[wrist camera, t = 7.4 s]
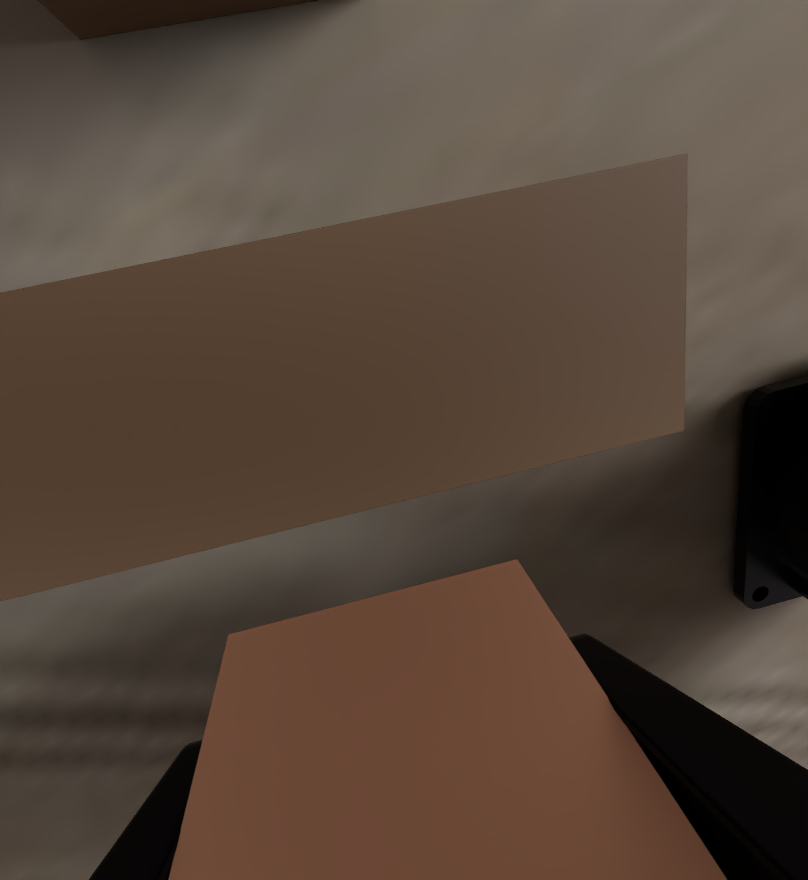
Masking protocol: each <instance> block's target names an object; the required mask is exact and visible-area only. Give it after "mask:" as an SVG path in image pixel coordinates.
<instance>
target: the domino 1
mask: <svg viewBox="0 0 808 880" xmlns="http://www.w3.org/2000/svg"><path fill="white" fill-rule="evenodd" d="M38 1H39V2H40V3H41V4H42V5H44V6H45V7H46V8H47V9H48V10H49V11H50V12H51V13H52V14H53V15H54V16H55V17H57V18H58V19H59V20H60V21H61V22H62V23H63V24H64V25H65V26H66V27H67V28H69V29H70V30H71V31H72V32H73V33H74V34H75V35H76V36H77V37H78V38H79V39H80V40H81V39H87V38H93V37H99V36H105V35H111V34H117V33H123V32H129V31H135V30H141V29H147V28H153V27H159V26H165V25H172V24H178V23H184V22H190V21H196V20H202V19H208V18H214V17H220V16H226V15H232V14H238V13H244V12H250V11H256V10H262V9H268V8H274V7H280V6H286V5H292V4H298V3H304V2H310V1H316V0H38Z"/></svg>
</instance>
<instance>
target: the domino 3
mask: <svg viewBox="0 0 808 880" xmlns="http://www.w3.org/2000/svg"><path fill="white" fill-rule="evenodd" d="M168 880H727V879H726V877H725V876H724V874H723V873H722V871H721V869H720V868H719V866H718V865H717V863H716V862H715V860H714V859H713V857H712V856H711V854H710V853H709V851H708V850H707V848H706V847H705V845H704V844H703V842H702V840H701V839H700V837H699V836H698V834H697V833H696V831H695V830H694V828H693V827H692V825H691V824H690V822H689V821H688V819H687V818H686V816H685V815H684V813H683V811H682V810H681V808H680V807H679V805H678V804H677V802H676V801H675V799H674V798H673V796H672V795H671V793H670V792H669V790H668V789H667V787H666V786H665V784H664V782H663V781H662V779H661V778H660V776H659V775H658V773H657V772H656V770H655V769H654V767H653V766H652V764H651V763H650V761H649V760H648V758H647V757H646V755H645V753H644V752H643V750H642V749H641V747H640V746H639V744H638V743H637V741H636V740H635V738H634V737H633V735H632V734H631V732H630V731H629V729H628V728H627V726H626V725H625V724H624V722H623V721H622V720H621V718H620V717H619V716H618V714H617V713H616V712H615V710H614V709H613V707H612V705H611V703H610V702H609V699H608V697H607V695H606V694H605V692H604V691H603V689H602V688H601V686H600V685H599V683H598V682H597V680H596V679H595V677H594V676H593V674H592V673H591V671H590V670H589V668H588V667H587V665H586V663H585V662H584V660H583V659H582V657H581V656H580V654H579V653H578V651H577V650H576V648H575V647H574V645H573V644H572V642H571V641H570V639H569V638H568V636H567V634H566V633H565V631H564V630H563V628H562V627H561V625H560V624H559V622H558V621H557V619H556V618H555V616H554V615H553V613H552V612H551V610H550V609H549V607H548V605H547V604H546V602H545V601H544V599H543V598H542V596H541V595H540V593H539V592H538V590H537V589H536V587H535V586H534V584H533V583H532V581H531V580H530V578H529V576H528V575H527V573H526V572H525V570H524V569H523V567H522V566H521V564H520V563H519V561H518V560H517V559H515V560H512V561H508V562H504V563H500V564H496V565H493V566H489V567H485V568H481V569H477V570H473V571H470V572H466V573H462V574H458V575H454V576H450V577H447V578H443V579H439V580H435V581H431V582H427V583H424V584H420V585H416V586H412V587H408V588H404V589H401V590H397V591H393V592H389V593H385V594H381V595H378V596H374V597H370V598H366V599H362V600H359V601H355V602H351V603H347V604H343V605H339V606H336V607H332V608H328V609H324V610H320V611H316V612H313V613H309V614H305V615H301V616H297V617H293V618H290V619H286V620H282V621H278V622H274V623H270V624H267V625H263V626H259V627H255V628H251V629H248V630H244V631H240V632H236V633H232V634H228V638H227V643H226V647H225V651H224V655H223V659H222V663H221V667H220V671H219V675H218V679H217V683H216V687H215V692H214V696H213V700H212V704H211V708H210V712H209V716H208V720H207V724H206V728H205V732H204V736H203V741H202V745H201V749H200V753H199V757H198V761H197V765H196V769H195V773H194V777H193V781H192V785H191V789H190V794H189V798H188V802H187V806H186V810H185V814H184V818H183V822H182V826H181V832H180V837H179V841H178V845H177V848H176V852H175V855H174V859H173V863H172V867H171V871H170V875H169V879H168Z"/></svg>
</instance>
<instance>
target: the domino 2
mask: <svg viewBox="0 0 808 880" xmlns="http://www.w3.org/2000/svg"><path fill="white" fill-rule="evenodd" d="M687 158H688V153H687V154H682V155H678V156H673V157H668V158H663V159H658V160H653V161H648V162H643V163H638V164H633V165H628V166H623V167H618V168H613V169H609V170H604V171H599V172H594V173H589V174H584V175H579V176H574V177H569V178H564V179H559V180H554V181H549V182H544V183H539V184H535V185H530V186H525V187H520V188H515V189H510V190H505V191H500V192H495V193H490V194H485V195H480V196H475V197H470V198H465V199H461V200H456V201H451V202H446V203H441V204H436V205H431V206H426V207H421V208H416V209H411V210H406V211H401V212H396V213H392V214H387V215H382V216H377V217H372V218H367V219H362V220H357V221H352V222H347V223H342V224H337V225H332V226H327V227H322V228H318V229H313V230H308V231H303V232H298V233H293V234H288V235H283V236H278V237H273V238H268V239H263V240H258V241H253V242H249V243H244V244H239V245H234V246H229V247H224V248H219V249H214V250H209V251H204V252H199V253H194V254H189V255H184V256H179V257H175V258H170V259H165V260H160V261H155V262H150V263H145V264H140V265H135V266H130V267H125V268H120V269H115V270H110V271H106V272H101V273H96V274H91V275H86V276H81V277H76V278H71V279H66V280H61V281H56V282H51V283H46V284H41V285H36V286H32V287H27V288H22V289H17V290H12V291H7V292H2V293H0V601H4V600H8V599H12V598H16V597H20V596H24V595H28V594H32V593H36V592H40V591H44V590H48V589H52V588H56V587H60V586H64V585H68V584H72V583H76V582H80V581H84V580H88V579H92V578H96V577H100V576H104V575H108V574H112V573H116V572H120V571H124V570H128V569H132V568H136V567H140V566H144V565H148V564H152V563H156V562H160V561H164V560H168V559H172V558H176V557H180V556H184V555H188V554H192V553H196V552H200V551H204V550H208V549H212V548H216V547H220V546H224V545H228V544H232V543H236V542H240V541H244V540H248V539H252V538H256V537H260V536H264V535H268V534H272V533H276V532H280V531H284V530H288V529H292V528H296V527H300V526H304V525H308V524H312V523H316V522H320V521H324V520H328V519H332V518H336V517H340V516H344V515H348V514H352V513H356V512H360V511H364V510H368V509H372V508H376V507H380V506H384V505H388V504H392V503H396V502H400V501H404V500H408V499H412V498H416V497H420V496H424V495H428V494H432V493H436V492H441V491H445V490H449V489H453V488H457V487H461V486H465V485H469V484H473V483H477V482H481V481H485V480H489V479H493V478H497V477H501V476H505V475H509V474H513V473H517V472H521V471H525V470H529V469H533V468H537V467H541V466H545V465H549V464H553V463H557V462H561V461H565V460H569V459H573V458H577V457H581V456H585V455H589V454H593V453H597V452H601V451H605V450H609V449H613V448H617V447H621V446H625V445H629V444H633V443H637V442H641V441H645V440H649V439H653V438H657V437H661V436H665V435H669V434H673V433H677V432H681V431H684V417H685V330H686V244H687Z"/></svg>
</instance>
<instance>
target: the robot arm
mask: <svg viewBox="0 0 808 880" xmlns="http://www.w3.org/2000/svg"><path fill="white" fill-rule="evenodd" d="M770 403H771V405H770V408H769V410H768V411H767V412H766V408H767V406H768V405H769V404H770ZM765 412H766V413H765ZM733 592H734V595H735V597H736V598H737V599H738V600H740V601H741V602H742V603H743V604H745V605H746V606H747V607H748V608H752V609H757V608H762V607H766V606H769V605H773V604H776V603H780V602H783V601H787V600H790V599H794V598H797V597H801V596H804V597H805V598H807V599H808V375H807V376H803V377H799V378H795V379H791V380H787V381H783V382H779V383H775V384H771V385H767V386H763V387H760V388H758V389H756V390H755V391H754V392H752V393H751V394H750V395H749V397H748V398H747V400H746V402H745V404H744V408H743V420H742V438H741V456H740V474H739V492H738V510H737V529H736V547H735V565H734V583H733ZM569 639H570V641H571V642H572V644H573V645H574V647H575V648H576V650H577V651H578V653H579V654H580V656H581V657H582V659H583V660H584V662H585V663H586V665H587V667H588V668H589V670H590V671H591V673H592V674H593V676H594V677H595V679H596V680H597V682H598V683H599V685H600V686H601V688H602V689H603V691H604V692H605V694H606V695H607V697H608V699H609V702H610V703H611V705H612V707H613V709H614V710H615V712H616V713H617V714H618V716H619V717H620V718H621V720H622V721H623V722H624V724H625V725H626V726H627V728H628V729H629V731H630V732H631V734H632V735H633V737H634V738H635V740H636V741H637V743H638V744H639V746H640V747H641V749H642V750H643V752H644V753H645V755H646V757H647V758H648V760H649V761H650V763H651V764H652V766H653V767H654V769H655V770H656V772H657V773H658V775H659V776H660V778H661V779H662V781H663V782H664V784H665V786H666V787H667V789H668V790H669V792H670V793H671V795H672V796H673V798H674V799H675V801H676V802H677V804H678V805H679V807H680V808H681V810H682V811H683V813H684V815H685V816H686V818H687V819H688V821H689V822H690V824H691V825H692V827H693V828H694V830H695V831H696V833H697V834H698V836H699V837H700V839H701V840H702V842H703V844H704V845H705V847H706V848H707V850H708V851H709V853H710V854H711V856H712V857H713V859H714V860H715V862H716V863H717V865H718V866H719V868H720V869H721V871H722V873H723V874H724V876H725V877H726V879H727V880H808V770H807V769H806V768H804V767H802V766H801V765H799V764H797V763H796V762H794V761H793V760H791V759H789V758H788V757H786V756H784V755H783V754H781V753H780V752H778V751H776V750H775V749H773V748H772V747H770V746H768V745H767V744H765V743H763V742H762V741H760V740H759V739H757V738H755V737H754V736H752V735H750V734H749V733H747V732H746V731H744V730H742V729H741V728H739V727H738V726H736V725H734V724H733V723H731V722H729V721H728V720H726V719H725V718H723V717H721V716H720V715H718V714H717V713H715V712H713V711H712V710H710V709H708V708H707V707H705V706H704V705H702V704H700V703H699V702H697V701H695V700H694V699H692V698H691V697H689V696H687V695H686V694H684V693H683V692H681V691H679V690H678V689H676V688H674V687H673V686H671V685H670V684H668V683H666V682H665V681H663V680H661V679H660V678H658V677H657V676H655V675H653V674H652V673H650V672H649V671H647V670H645V669H644V668H642V667H640V666H639V665H637V664H636V663H634V662H632V661H631V660H629V659H627V658H626V657H624V656H623V655H621V654H619V653H618V652H616V651H615V650H613V649H611V648H610V647H608V646H606V645H605V644H603V643H602V642H600V641H598V640H597V639H595V638H593V637H592V636H590V635H587V634H581V635H577V636H573V637H570V638H569ZM202 741H203V740H200V741H196V742H193V743H190V744H188V745H186V746H185V747H184V748H183V749H182V751H181V752H180V753H179V755H178V756H177V757H176V759H175V760H174V762H173V763H172V764H171V766H170V767H169V769H168V770H167V771H166V773H165V774H164V776H163V777H162V778H161V780H160V781H159V783H158V784H157V785H156V787H155V788H154V789H153V791H152V792H151V794H150V795H149V796H148V798H147V799H146V801H145V802H144V803H143V805H142V806H141V808H140V809H139V810H138V812H137V813H136V815H135V816H134V817H133V819H132V820H131V821H130V823H129V824H128V826H127V827H126V828H125V830H124V831H123V833H122V834H121V835H120V837H119V838H118V840H117V841H116V842H115V844H114V845H113V847H112V848H111V849H110V851H109V852H108V854H107V855H106V856H105V858H104V859H103V860H102V862H101V863H100V865H99V866H98V867H97V869H96V870H95V872H94V873H93V874H92V876H91V877H90V879H89V880H168V879H169V875H170V871H171V867H172V863H173V859H174V855H175V852H176V848H177V845H178V841H179V837H180V832H181V826H182V822H183V818H184V814H185V810H186V806H187V802H188V798H189V794H190V789H191V785H192V781H193V777H194V773H195V769H196V765H197V761H198V757H199V753H200V749H201V745H202Z"/></svg>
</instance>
